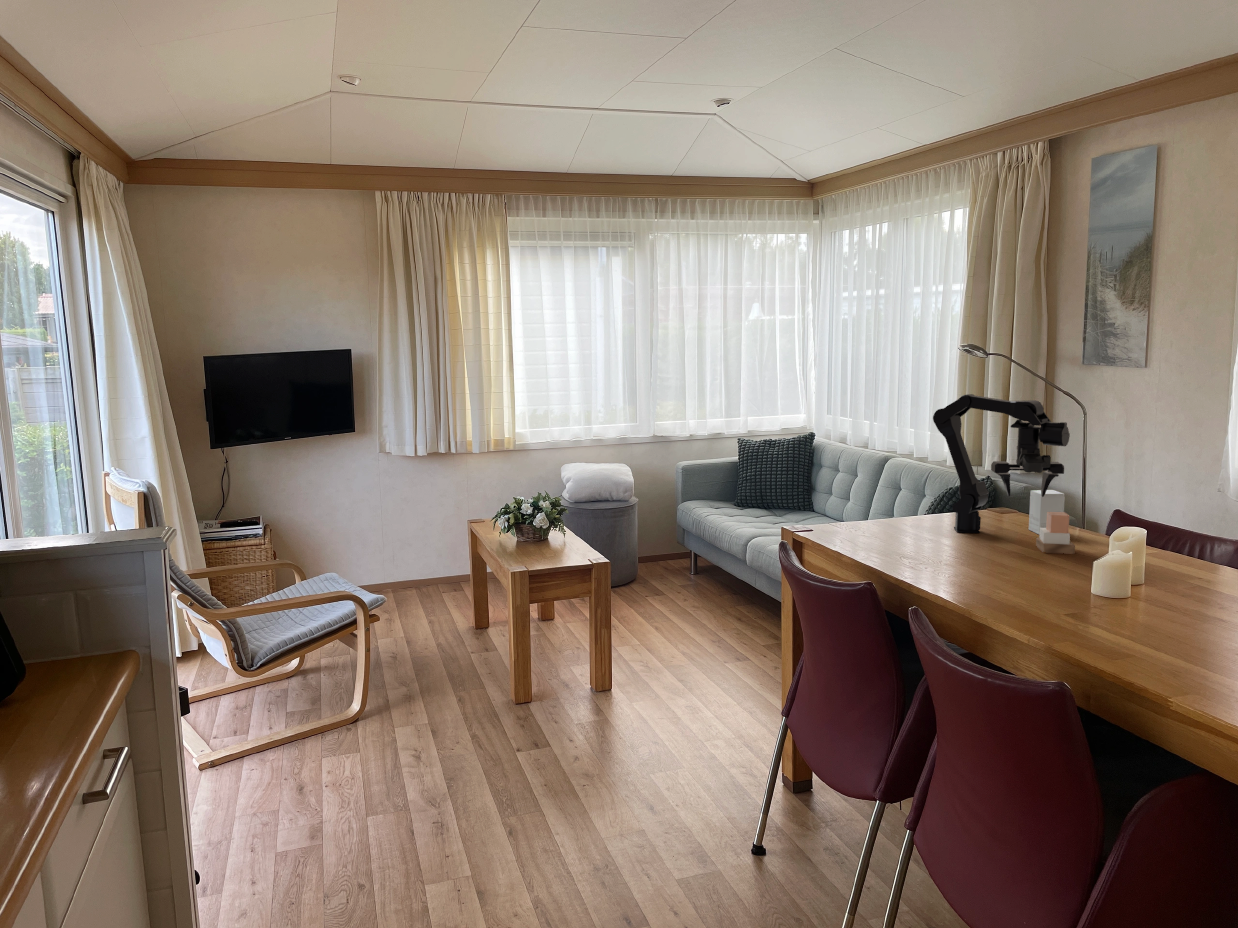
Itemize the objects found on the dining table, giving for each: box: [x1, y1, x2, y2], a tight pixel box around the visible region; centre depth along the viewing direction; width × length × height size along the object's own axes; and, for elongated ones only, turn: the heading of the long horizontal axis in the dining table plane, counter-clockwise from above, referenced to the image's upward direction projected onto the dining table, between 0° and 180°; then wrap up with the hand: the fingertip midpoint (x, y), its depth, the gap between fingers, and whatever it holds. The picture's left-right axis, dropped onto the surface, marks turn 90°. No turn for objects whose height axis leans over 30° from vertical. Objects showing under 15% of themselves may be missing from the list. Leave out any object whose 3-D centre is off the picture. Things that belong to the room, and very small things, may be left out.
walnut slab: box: [1035, 537, 1076, 555], centre depth 242 cm, size 8×8×3 cm
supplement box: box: [1028, 489, 1066, 535], centre depth 262 cm, size 7×7×13 cm
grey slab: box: [1038, 528, 1071, 544], centre depth 242 cm, size 6×6×3 cm
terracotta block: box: [1046, 511, 1070, 533], centre depth 241 cm, size 5×5×5 cm
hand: (1025, 496), depth 252 cm, fingers open, 9 cm apart
